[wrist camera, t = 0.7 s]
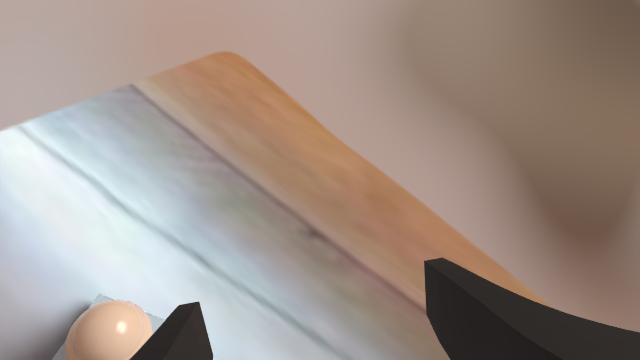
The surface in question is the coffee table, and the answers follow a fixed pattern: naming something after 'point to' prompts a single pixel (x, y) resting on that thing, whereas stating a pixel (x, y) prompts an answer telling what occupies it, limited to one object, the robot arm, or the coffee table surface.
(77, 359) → the brown egg
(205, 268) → the coffee table surface
